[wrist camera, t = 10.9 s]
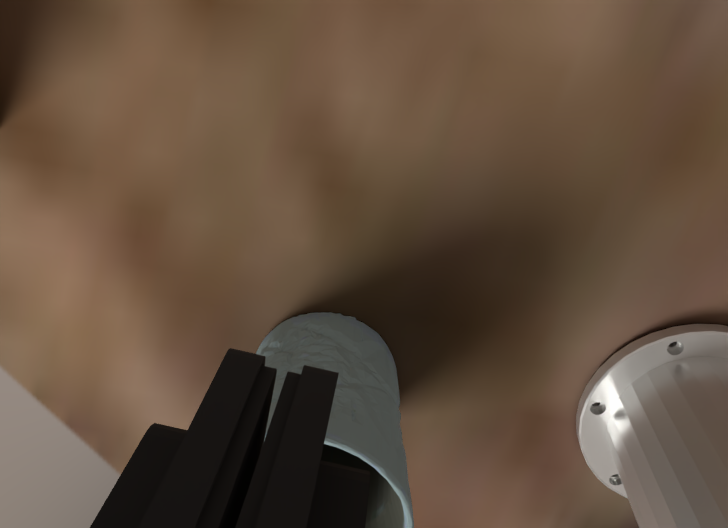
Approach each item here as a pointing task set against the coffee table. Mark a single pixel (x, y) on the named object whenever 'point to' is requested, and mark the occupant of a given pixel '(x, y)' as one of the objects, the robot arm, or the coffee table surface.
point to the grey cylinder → (351, 403)
